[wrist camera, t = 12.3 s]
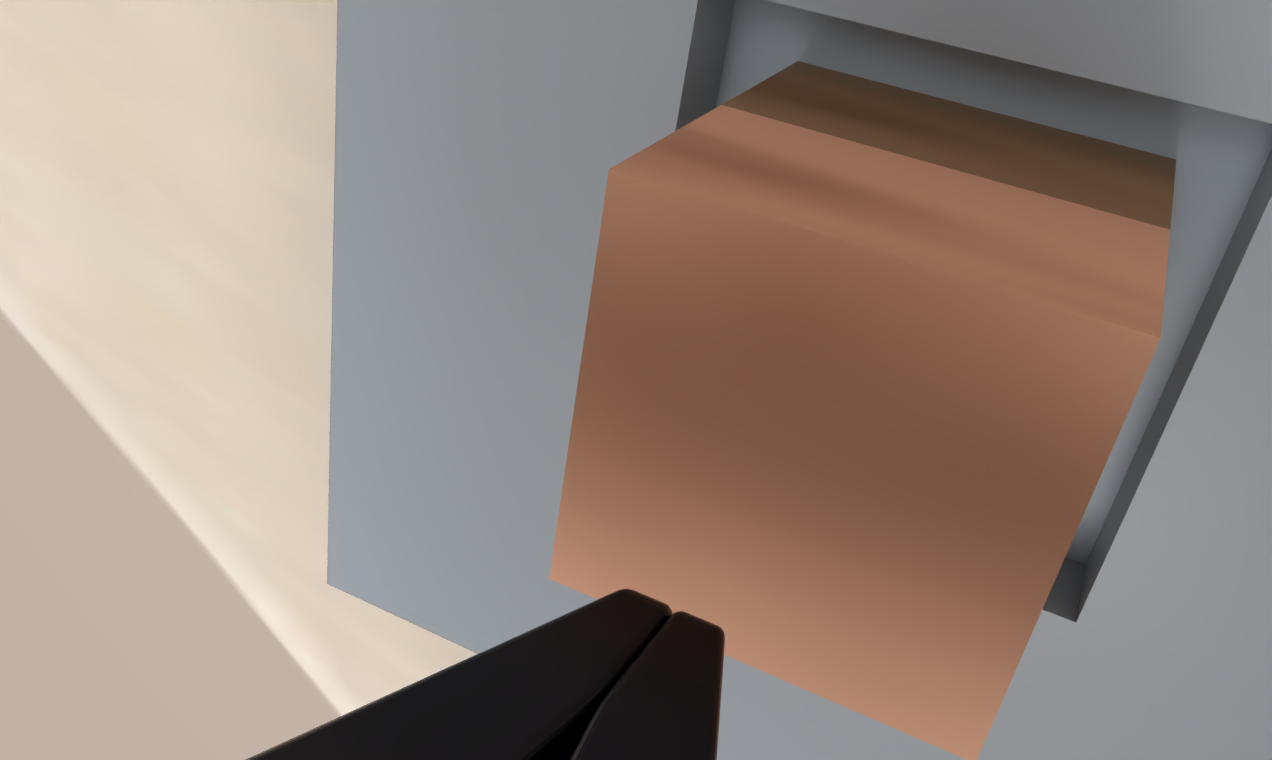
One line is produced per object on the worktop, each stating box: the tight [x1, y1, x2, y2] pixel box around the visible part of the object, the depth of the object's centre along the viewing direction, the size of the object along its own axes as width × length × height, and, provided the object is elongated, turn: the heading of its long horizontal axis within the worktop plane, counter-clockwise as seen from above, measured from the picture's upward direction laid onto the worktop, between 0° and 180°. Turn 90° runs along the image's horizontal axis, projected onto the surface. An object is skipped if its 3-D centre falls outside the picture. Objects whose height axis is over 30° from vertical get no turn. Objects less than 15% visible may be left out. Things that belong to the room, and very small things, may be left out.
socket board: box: [327, 0, 1272, 760], centre depth 16 cm, size 18×18×2 cm
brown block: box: [549, 61, 1176, 760], centre depth 14 cm, size 5×5×6 cm
